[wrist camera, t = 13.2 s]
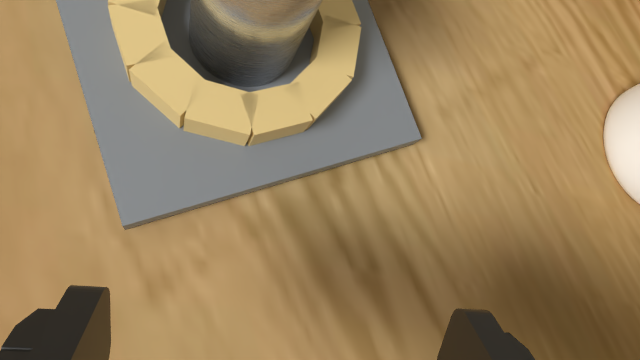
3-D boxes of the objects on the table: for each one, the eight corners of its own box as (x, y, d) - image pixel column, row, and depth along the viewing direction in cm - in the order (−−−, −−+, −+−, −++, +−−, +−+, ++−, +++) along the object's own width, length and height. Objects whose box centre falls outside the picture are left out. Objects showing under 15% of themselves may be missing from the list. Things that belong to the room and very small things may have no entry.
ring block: (320, -93, 26) (334, -131, 23) (411, 144, 24) (437, 128, 22) (36, -71, 21) (19, -117, 19) (124, 229, 19) (118, 220, 17)
